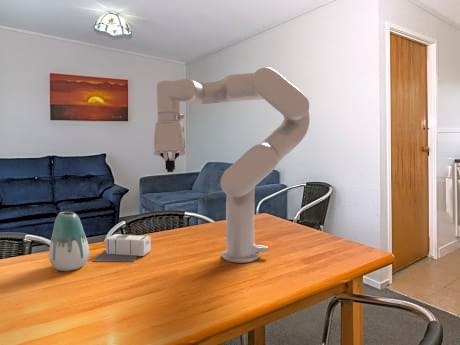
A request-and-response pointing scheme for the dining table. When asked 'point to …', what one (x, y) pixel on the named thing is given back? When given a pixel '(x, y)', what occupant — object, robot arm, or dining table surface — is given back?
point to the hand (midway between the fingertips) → (170, 171)
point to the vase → (68, 243)
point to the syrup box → (128, 244)
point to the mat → (114, 258)
